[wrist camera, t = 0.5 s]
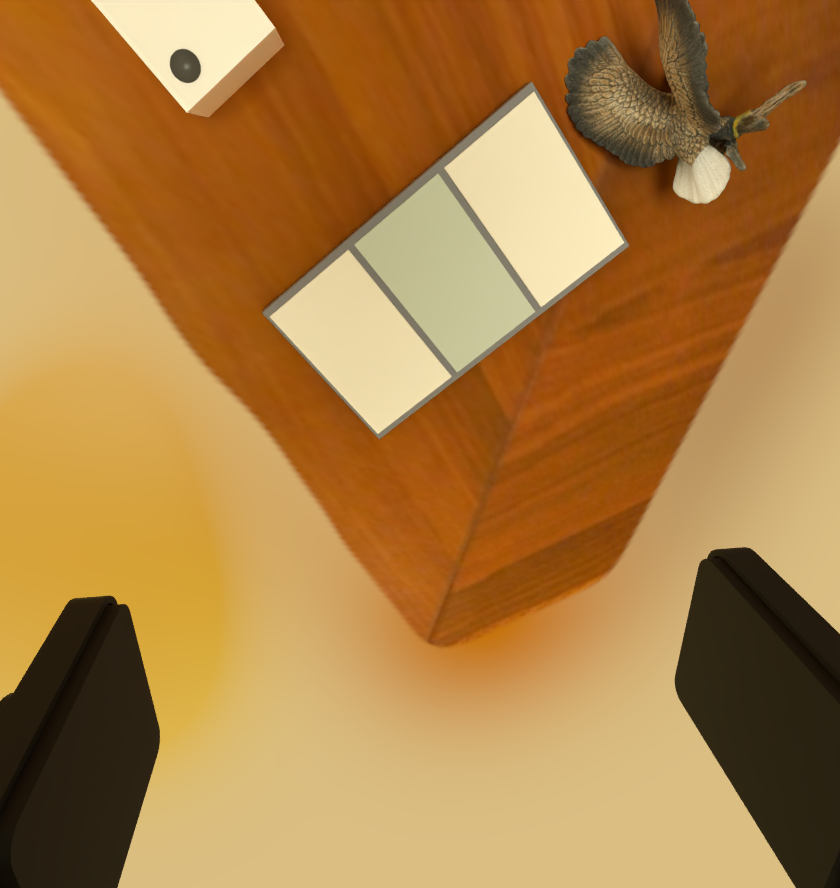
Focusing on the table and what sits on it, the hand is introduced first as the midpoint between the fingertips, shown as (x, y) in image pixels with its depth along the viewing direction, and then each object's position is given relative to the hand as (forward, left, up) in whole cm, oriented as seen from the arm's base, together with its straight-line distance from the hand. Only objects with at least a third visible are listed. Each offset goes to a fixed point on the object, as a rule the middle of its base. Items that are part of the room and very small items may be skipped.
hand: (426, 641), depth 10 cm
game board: (-4, +2, -28) cm, 28 cm away
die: (-2, -14, -28) cm, 31 cm away
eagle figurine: (-18, +2, -28) cm, 33 cm away
